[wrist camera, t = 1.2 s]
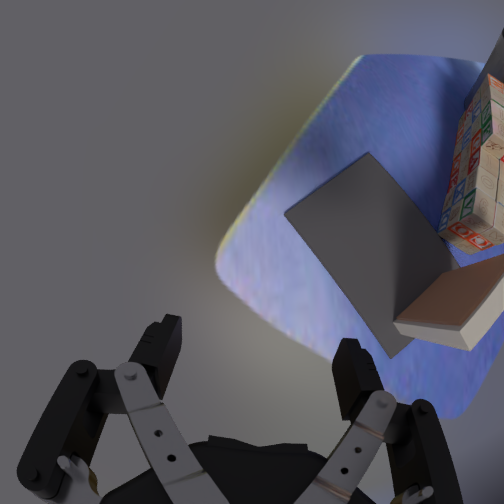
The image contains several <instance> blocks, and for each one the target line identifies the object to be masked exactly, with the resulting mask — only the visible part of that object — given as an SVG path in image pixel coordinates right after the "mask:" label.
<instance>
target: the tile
mask: <svg viewBox="0 0 504 504" xmlns="http://www.w3.org/2000/svg"><path fill="white" fill-rule="evenodd" d="M503 310H504V254H501V255H498V256H496V257H493V258H490V259H487V260H484V261H481V262H477V263H474V264H471V265H468V266H465V267H462V268H458V269H455V270H452V271H448V272H445V273H442V274H441V275H440V276H439V277H438V278H437V279H436V280H435V281H434V282H433V283H432V284H431V285H430V286H429V287H428V288H427V289H426V290H425V291H424V292H423V293H422V294H421V295H420V296H419V297H418V298H417V299H416V300H415V301H414V302H413V303H412V304H411V305H409V306H408V307H407V308H406V309H405V310H404V311H403V312H402V313H401V314H400V315H398V316H397V317H396V318H397V319H396V320H395V321H394V322H393V323H394V325H395V326H396V328H397V329H398V331H399V332H400V334H402V335H405V336H409V337H413V338H417V339H421V340H425V341H429V342H433V343H437V344H441V345H445V346H450V347H454V348H458V349H462V350H467V351H471V350H472V349H473V347H474V346H475V345H476V344H477V343H478V342H479V341H480V339H481V338H482V337H483V336H484V335H485V333H486V332H487V331H488V330H489V328H490V327H491V326H492V325H493V323H494V322H495V321H496V320H497V318H498V317H499V316H500V314H501V313H502V311H503Z"/></svg>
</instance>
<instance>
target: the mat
mask: <svg viewBox="0 0 504 504" xmlns="http://www.w3.org/2000/svg"><path fill="white" fill-rule="evenodd" d="M284 216H285V217H286V218H287V220H288V221H289V222H290V223H291V225H292V226H293V227H294V228H295V230H296V231H297V232H298V234H299V235H300V236H301V237H302V239H303V240H304V241H305V242H306V244H307V245H308V246H309V248H310V249H311V250H312V251H313V253H314V254H315V255H316V257H317V258H318V259H319V261H320V262H321V263H322V265H323V266H324V267H325V268H326V270H327V271H328V272H329V274H330V275H331V276H332V278H333V279H334V280H335V282H336V283H337V285H338V286H339V287H340V289H341V290H342V291H343V293H344V294H345V295H346V297H347V298H348V299H349V301H350V302H351V304H352V305H353V306H354V308H355V309H356V311H357V312H358V313H359V315H360V316H361V318H362V319H363V320H364V322H365V323H366V325H367V326H368V327H369V329H370V330H371V332H372V333H373V335H374V336H375V337H376V339H377V340H378V342H379V343H380V345H381V346H382V348H383V349H384V351H385V352H386V353H387V355H388V356H389V358H390V359H392V358H393V357H394V356H395V355H396V354H398V353H399V352H400V351H401V350H402V349H403V348H405V347H406V346H407V345H408V344H409V343H410V342H411V341H412V340H413V339H415V338H413V337H409V336H405V335H402V334H400V332H399V331H398V329H397V328H396V326H395V325H394V323H393V322H394V321H395V320H396V319H397V318H396V317H397V316H398V315H400V314H401V313H402V312H403V311H404V310H405V309H406V308H407V307H408V306H409V305H411V304H412V303H413V302H414V301H415V300H416V299H417V298H418V297H419V296H420V295H421V294H422V293H423V292H424V291H425V290H426V289H427V288H428V287H429V286H430V285H431V284H432V283H433V282H434V281H435V280H436V279H437V278H438V277H439V276H440V275H441V274H442V273H445V272H448V271H452V270H455V269H458V268H460V266H459V265H458V263H457V262H456V260H455V258H454V257H453V255H452V254H451V252H450V251H449V249H448V248H447V247H446V245H445V244H444V242H443V241H442V239H441V238H440V237H439V235H438V234H437V232H436V231H435V230H434V228H433V227H432V226H431V224H430V223H429V222H428V220H427V219H426V218H425V216H424V215H423V214H422V212H421V211H420V210H419V209H418V207H417V206H416V205H415V204H414V202H413V201H412V200H411V199H410V198H409V196H408V195H407V194H406V193H405V192H404V190H403V189H402V188H401V187H400V186H399V185H398V183H397V182H396V181H395V180H394V179H393V178H392V177H391V175H390V174H389V173H388V172H387V171H386V170H385V169H384V168H383V167H382V166H381V165H380V163H379V162H378V161H377V160H376V159H375V158H374V157H373V156H372V155H371V154H370V153H368V154H367V155H365V156H364V157H362V158H361V159H360V160H358V161H357V162H355V163H354V164H353V165H351V166H350V167H348V168H347V169H346V170H344V171H343V172H342V173H340V174H339V175H337V176H336V177H335V178H333V179H332V180H330V181H329V182H328V183H326V184H325V185H324V186H322V187H321V188H319V189H318V190H317V191H315V192H314V193H313V194H311V195H310V196H308V197H307V198H306V199H304V200H303V201H302V202H300V203H299V204H297V205H296V206H295V207H293V208H292V209H291V210H289V211H288V212H286V213H285V214H284Z"/></svg>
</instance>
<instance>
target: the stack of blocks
mask: <svg viewBox="0 0 504 504" xmlns="http://www.w3.org/2000/svg"><path fill="white" fill-rule="evenodd" d="M450 177H451V178H450V183H449V187H448V192H447V195H446V197H445V202H444V206H443V209H442V215H441V218H440V221H439V225H438V229H437V234H438V235H439V236H440V237H441V238H443V239H444V240H446V241H448V242H449V243H451V244H453V245H454V246H456V247H457V248H459V249H460V250H462V251H464V252H465V253H467V254H469V255H472V254H474V253H477V252H479V251H483V250H485V249H487V248H490V247H492V246H494V245H499V244H502V243H504V84H503V83H502V82H500V81H499V80H497V79H496V78H494V77H493V76H491V75H490V74H488V73H487V75H486V77H485V79H484V81H483V82H482V84H481V86H480V87H479V89H478V91H477V92H476V94H475V96H474V97H473V100H472V101H471V103H470V105H469V106H468V108H467V110H466V111H465V112H464V113H463V115H462V117H461V118H460V120H459V125H458V132H457V137H456V144H455V150H454V156H453V166H452V171H451V176H450Z"/></svg>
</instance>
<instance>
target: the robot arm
mask: <svg viewBox="0 0 504 504" xmlns="http://www.w3.org/2000/svg"><path fill="white" fill-rule="evenodd" d="M487 73H488V74H490V75H491V76H493V77H494V78H496V79H497V80H499V81H500V82H502V83H503V84H504V29H503V31H502V33H501V35H500V37H499V39H498V41H497V43H496V45H495V48H494V49H493V51H492V53H491V55H490V57H489V59H488V61H487V63H486V64H485V66H484V68H483V70H482V72H481V73H480V75H479V77H478V79H477V81H476V82H475V84H474V86H473V87H472V89H471V91H470V92H469V94H468V96H467V97H466V99H465V102H464V105H465V109H466V110H467V108H468V106H469V105H470V103H471V101H472V100H473V97H474V96H475V94H476V92H477V91H478V89H479V87H480V86H481V84H482V82H483V81H484V79H485V77H486V75H487ZM181 344H182V319H181V317H180V316H175V315H170V314H166V315H165V317H164V319H163V320H162V322H161V323H159V322H154V323H152V324H151V325H150V326H148V327H147V328H146V330H145V332H144V334H143V336H142V338H141V339H140V341H139V343H138V345H137V346H136V348H135V350H134V352H133V354H132V355H131V357H130V359H129V361H128V362H126V363H123V364H121V365H119V366H118V367H117V368H116V369H115V370H100V369H97V368H96V366H95V364H93V363H92V362H91V361H88V360H79V361H76V362H74V363H73V364H71V366H70V367H69V369H68V370H67V372H66V374H65V375H64V377H63V379H62V380H61V382H60V384H59V385H58V387H57V389H56V391H55V392H54V394H53V396H52V398H51V400H50V401H49V403H48V405H47V407H46V409H45V411H44V412H43V414H42V416H41V418H40V420H39V422H38V424H37V426H36V428H35V430H34V432H33V434H32V436H31V438H30V440H29V442H28V444H27V446H26V449H25V451H24V453H23V455H22V457H21V459H20V462H19V464H18V467H17V477H18V479H19V481H20V483H21V484H22V485H23V486H24V487H25V488H27V489H28V490H30V491H31V492H32V493H33V494H34V495H35V496H37V497H38V498H40V499H41V500H43V501H44V502H46V503H48V504H376V503H375V502H374V501H372V500H371V499H370V498H369V497H368V496H367V495H366V494H364V493H363V492H362V491H361V490H360V489H359V488H358V487H357V485H358V484H359V482H360V480H361V479H362V477H363V475H364V474H365V472H366V471H367V469H368V467H369V466H370V463H371V462H372V460H373V458H374V457H375V455H376V453H377V451H378V449H379V447H380V445H381V443H382V442H385V443H386V446H387V451H388V457H389V462H390V468H391V474H392V480H393V487H394V493H395V497H394V498H393V500H392V501H391V502H390V504H463V500H462V495H461V491H460V487H459V483H458V480H457V476H456V472H455V469H454V465H453V461H452V458H451V455H450V452H449V449H448V445H447V442H446V439H445V436H444V434H443V431H442V428H441V425H440V422H439V419H438V417H437V414H436V411H435V409H434V407H433V405H432V404H431V403H430V402H428V401H427V400H424V399H417V400H415V401H414V402H413V403H412V405H407V404H402V403H398V402H396V399H395V398H394V396H393V395H392V394H390V393H389V392H386V391H384V388H383V385H382V382H381V380H380V377H379V374H378V372H377V371H376V366H375V365H374V361H373V358H372V356H371V355H370V354H369V352H368V351H367V350H366V349H361V346H360V343H359V341H358V339H352V338H343V339H342V340H341V342H340V344H339V347H338V349H337V352H336V354H335V356H334V359H333V362H332V373H333V377H334V382H335V386H336V391H337V396H338V401H339V406H340V411H341V416H342V420H350V421H351V425H350V426H349V428H348V429H347V431H346V432H345V434H344V435H343V437H342V438H341V439H340V441H339V442H338V444H337V445H336V447H335V448H334V449H333V451H332V452H331V453H330V455H329V456H328V457H327V458H325V457H323V456H322V455H320V454H317V453H315V452H312V451H309V450H308V447H307V444H290V443H282V444H276V445H269V446H262V447H257V446H253V445H251V444H248V443H244V442H241V441H238V440H235V439H231V438H224V437H217V436H211V435H209V438H208V441H202V442H196V443H193V444H189V445H187V443H186V442H185V440H184V438H183V437H182V435H181V433H180V431H179V430H178V428H177V426H176V424H175V422H174V421H173V419H172V417H171V415H170V413H169V411H168V410H167V408H166V406H165V405H164V403H161V402H160V400H162V399H163V396H164V394H165V391H166V388H167V386H168V383H169V380H170V377H171V375H172V372H173V369H174V366H175V364H176V361H177V358H178V356H179V353H180V350H181ZM109 413H110V414H111V413H112V414H127V415H128V417H129V420H130V423H131V425H132V427H133V430H134V432H135V434H136V437H137V439H138V441H139V444H140V446H141V448H142V450H143V452H144V455H145V457H146V459H147V461H148V463H149V465H150V467H151V468H150V469H148V470H147V471H145V472H143V473H142V474H140V475H138V476H137V477H135V478H133V479H132V480H130V481H128V482H126V483H125V484H123V485H121V486H119V487H118V488H115V489H114V490H112V491H110V492H108V493H107V494H106V495H105V496H104V497H103V498H102V497H100V496H99V494H98V491H97V483H98V482H97V477H96V475H95V473H94V472H93V471H92V470H91V469H90V468H89V466H90V463H91V460H92V457H93V455H94V452H95V449H96V446H97V443H98V441H99V438H100V435H101V433H102V430H103V427H104V425H105V422H106V419H107V417H108V414H109Z"/></svg>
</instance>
